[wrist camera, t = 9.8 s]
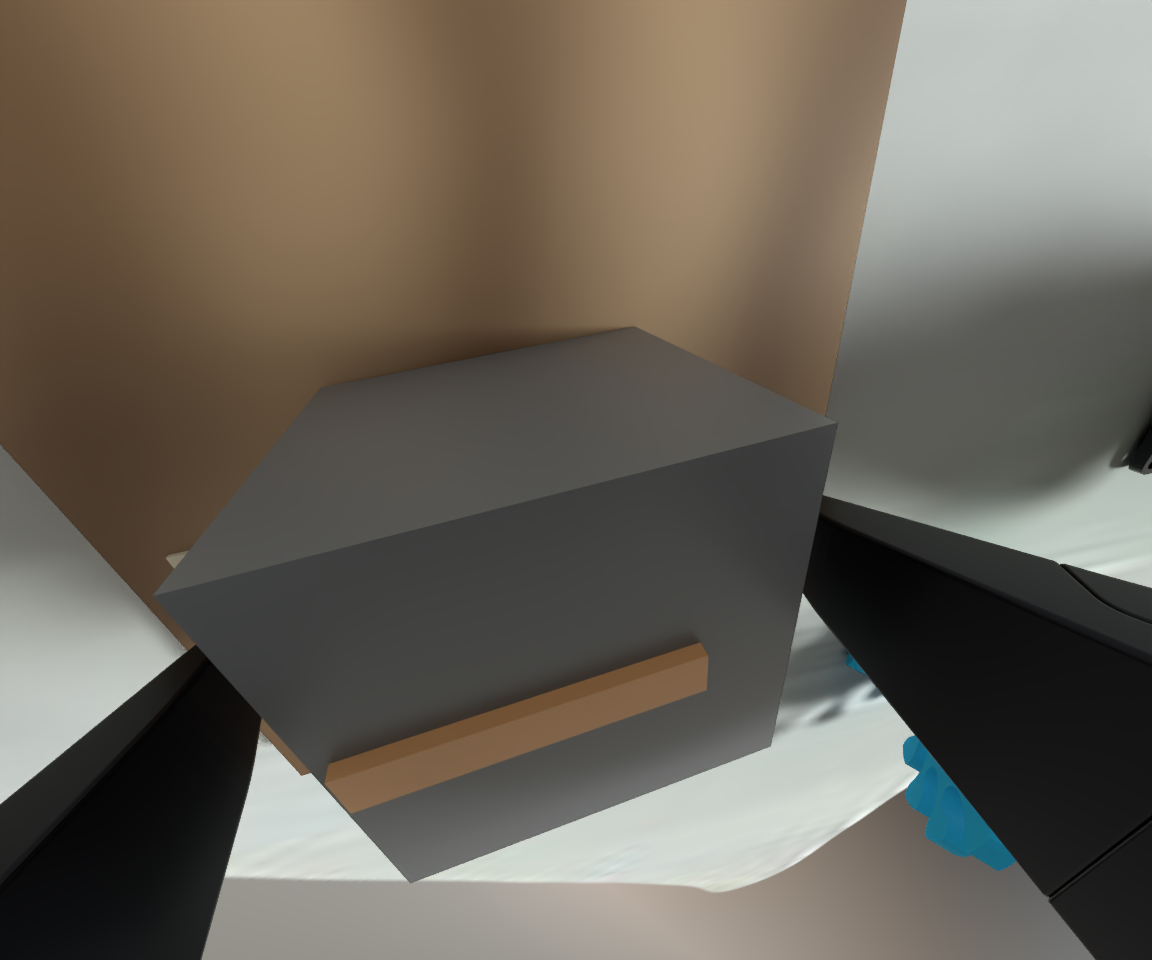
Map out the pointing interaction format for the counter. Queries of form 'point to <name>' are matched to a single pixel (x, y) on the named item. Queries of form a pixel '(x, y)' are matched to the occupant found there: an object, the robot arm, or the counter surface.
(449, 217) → the plate
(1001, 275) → the counter surface
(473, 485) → the grey box with handle
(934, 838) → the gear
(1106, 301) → the counter surface
